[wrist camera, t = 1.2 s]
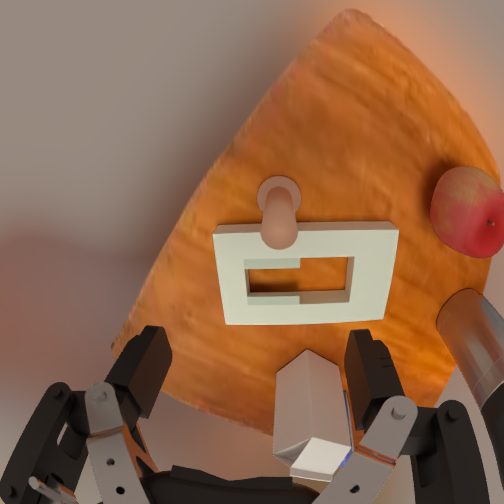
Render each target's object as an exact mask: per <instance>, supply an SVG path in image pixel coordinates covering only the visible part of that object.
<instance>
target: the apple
mask: <svg viewBox="0 0 504 504" xmlns="http://www.w3.org/2000/svg"><path fill="white" fill-rule="evenodd" d="M430 220H431V224H432V227H433V229H434V231H435V233H436V235H437V236H438V237H439V238H440V240H441V241H442V242H443V243H445V244H446V245H447V246H448V247H450V248H452V249H453V250H455V251H457V252H459V253H462V254H464V255H467V256H470V257H474V258H487V257H491V256H493V255H494V254H496V253H497V252H498V251H499V250H500V249H501V248H502V246H503V244H504V193H503V191H502V189H501V188H500V186H499V185H498V184H497V182H496V181H495V180H494V179H493V178H492V177H491V176H489V175H488V174H487V173H486V172H484V171H483V170H481V169H479V168H476V167H472V166H460V167H456V168H452V169H450V170H448V171H446V172H445V173H444V174H443V175H442V176H441V177H440V179H439V181H438V183H437V185H436V188H435V190H434V193H433V197H432V201H431V206H430Z"/></svg>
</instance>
